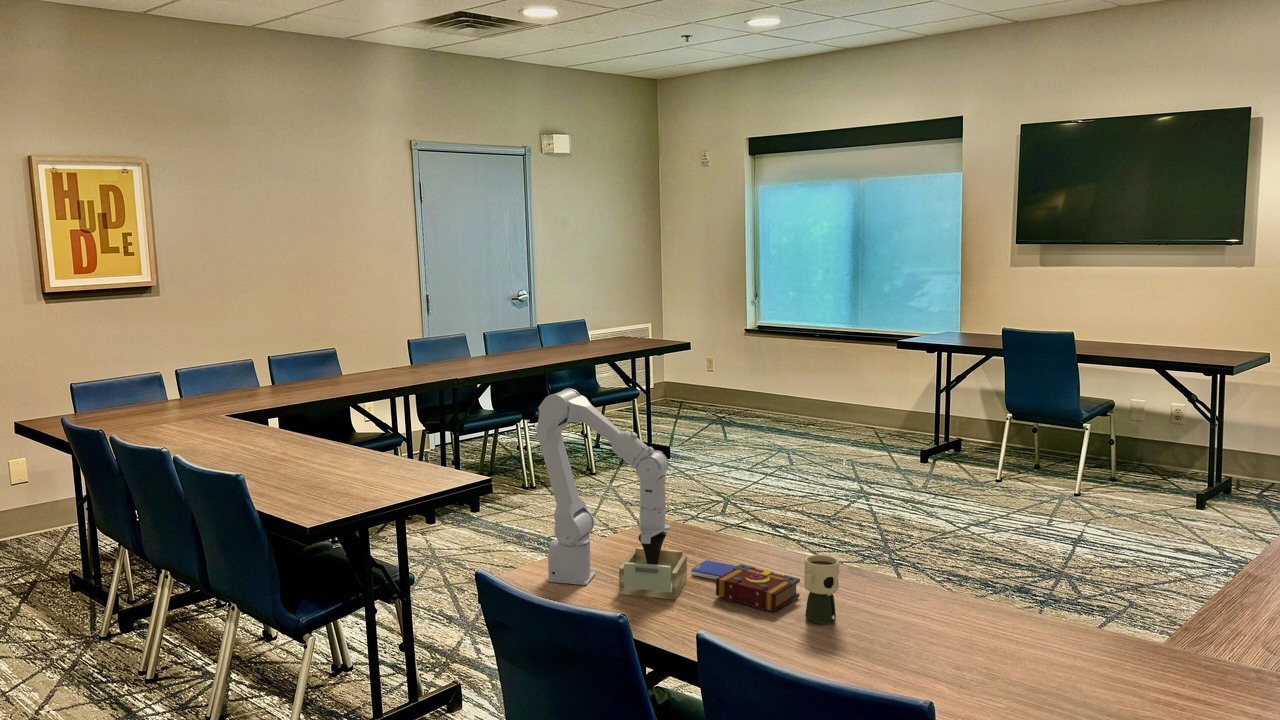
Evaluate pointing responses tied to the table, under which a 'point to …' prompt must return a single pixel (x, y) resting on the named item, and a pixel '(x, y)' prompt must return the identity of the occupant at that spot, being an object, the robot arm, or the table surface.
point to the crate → (665, 558)
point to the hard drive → (711, 569)
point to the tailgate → (647, 576)
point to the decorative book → (757, 587)
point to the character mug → (821, 587)
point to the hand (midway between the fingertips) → (652, 564)
